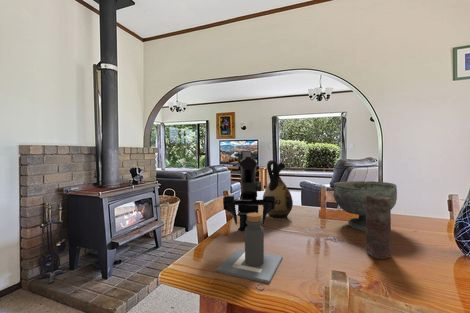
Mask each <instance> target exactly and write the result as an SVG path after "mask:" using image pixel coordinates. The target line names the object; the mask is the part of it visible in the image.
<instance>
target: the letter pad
mask: <svg viewBox="0 0 470 313" xmlns="http://www.w3.org/2000/svg"><path fill="white" fill-rule="evenodd" d="M283 258H284V257H283V255H280V254H273V253H267V252H264V263H263V264H262V265H260V266H249V265H247V264H246V263H245V248H236V249H235V250H234V251H233V252H232V254H230V255H229V256H228V257H227V258H226V259H225V260H224V261H223V262H222V263H221V264H219V266H218V267H217V268H216V272H217V273H221V274H225V275H229V276H234V277H238V278H242V279H247V280H252V281H256V282H261V283H264V284H270V283H271V281H272V279H273V277H274V276H275V274H276V272H277V270H278V268H279V266H280V264H281V263H282V261H283Z"/></svg>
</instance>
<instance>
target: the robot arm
mask: <svg viewBox="0 0 470 313" xmlns="http://www.w3.org/2000/svg"><path fill="white" fill-rule="evenodd" d="M252 152H253V151H252V150H249V149H248V150H247V149H246V150H241V153H240V154H238V155H237V166H238V168H237V169H238V173H240V195H239V198H238V199H235V196H234V195H224V196H223V198H222V204H223V205H222V206H223V210H225V211H226V212H228V213H230V215H231V217H232V219H233V221H234V224H235V225H236V226H238V217H239V227H238V228H237V229H238V230H239V231H245V228H246V227H247V226H248V225H247V224H246V220H247V214H248V213H259V206H262V218H261V220H262V225H263V226H264V225H265V222H266V218H267V216H268V214H267V213H268V212H270V211H271V210H273V209H274V208H275V203H276V199H275V197H274V196H264V200H263V199H257V197H258V192H262V190H263V188H262V181H256V176H257V174H256V173H257V172H258V170H259V169H260V166H259V165H258V163H257V161H256V160H255V155H254V154H253V153H252ZM236 206H237V209H236ZM237 216H238V217H237Z"/></svg>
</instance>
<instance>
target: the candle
mask: <svg viewBox="0 0 470 313" xmlns="http://www.w3.org/2000/svg"><path fill="white" fill-rule="evenodd" d="M391 211H392V209H391V205H390V198H389V197H387V198H385V197H379V196H370V195H366V231H365V251H366V253H367V254H369V255H370V256H371V257H372V258H374V259H378V260H379V259H380V260H381V259H382V260H386V259H389V258H390V257H392V227H391V226H392V224H391V223H392V222H391V221H392V218H391V214H392V213H391Z"/></svg>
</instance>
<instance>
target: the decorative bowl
mask: <svg viewBox="0 0 470 313" xmlns="http://www.w3.org/2000/svg"><path fill="white" fill-rule="evenodd" d="M366 195H370V196H379V197H385V198H387V197H389V198H390V205H391V210H392V209H393V208H394V207H395V206H396V204H397V200H398V190H397V184H395V183H393V182H392V183H391V182H387V181H386V182H385V181H365V180H361V181H360V180H358V181H355V180H354V181H339V182H338V181H337V182H334V183H333V198H334V201H335V203H336V204H337V205H338V206H339V207H340V208H341V210H343V211H344V212H345V213H348V214H352V215H358V217H356V218H355V217H354V218H350V219H349V220H348V222H347V225H348V226H349V227H350V228H354V229H355V230H359V231H363V232H366Z"/></svg>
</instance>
